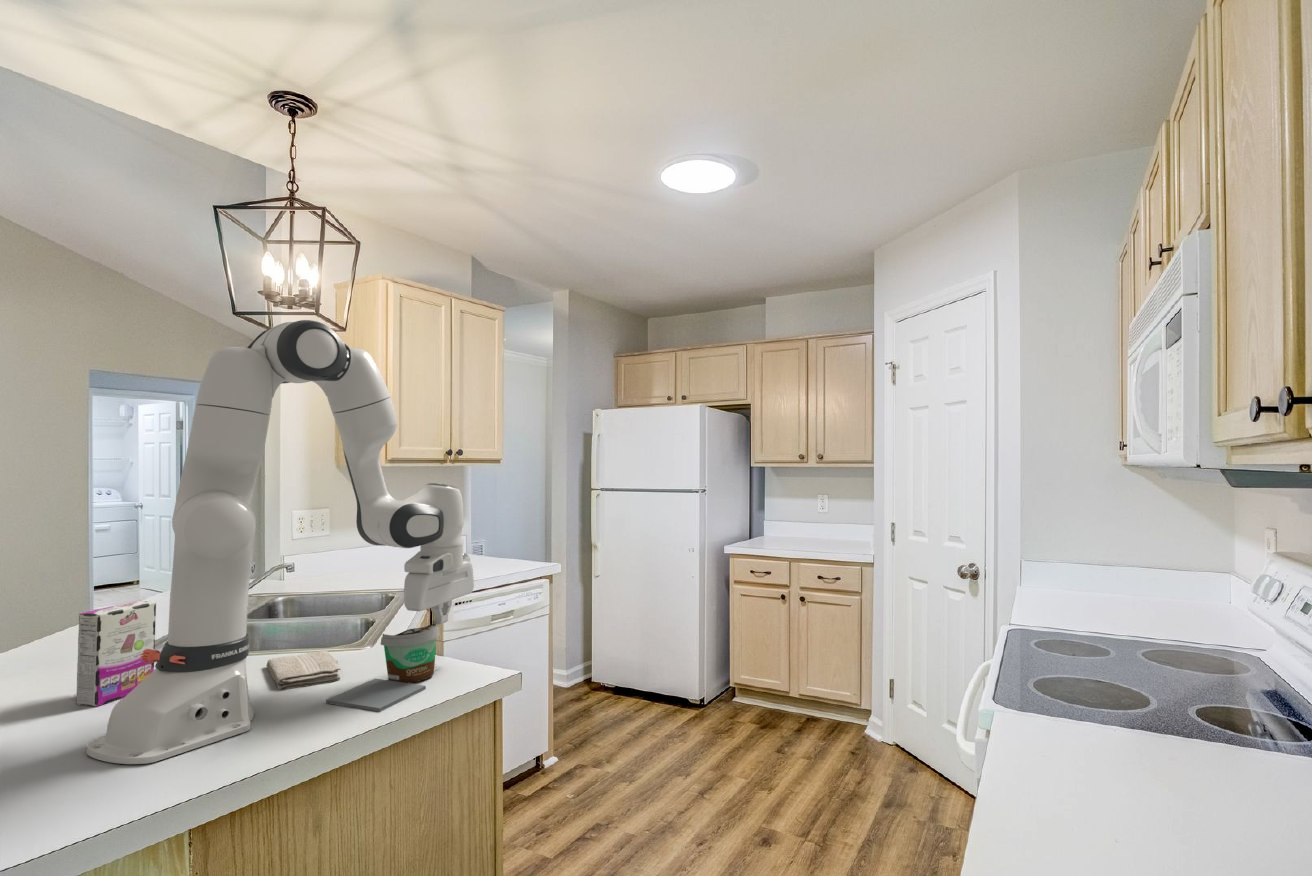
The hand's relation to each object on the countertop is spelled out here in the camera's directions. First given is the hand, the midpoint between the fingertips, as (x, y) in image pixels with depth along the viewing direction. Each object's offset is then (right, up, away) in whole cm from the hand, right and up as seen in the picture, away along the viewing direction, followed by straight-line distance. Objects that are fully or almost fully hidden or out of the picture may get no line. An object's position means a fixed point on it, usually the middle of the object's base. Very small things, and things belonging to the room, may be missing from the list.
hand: (441, 622), depth 145 cm
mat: (-7, -9, -17) cm, 20 cm away
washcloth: (-27, -10, -5) cm, 29 cm away
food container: (-2, -10, -7) cm, 12 cm away
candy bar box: (-54, -8, -20) cm, 58 cm away
